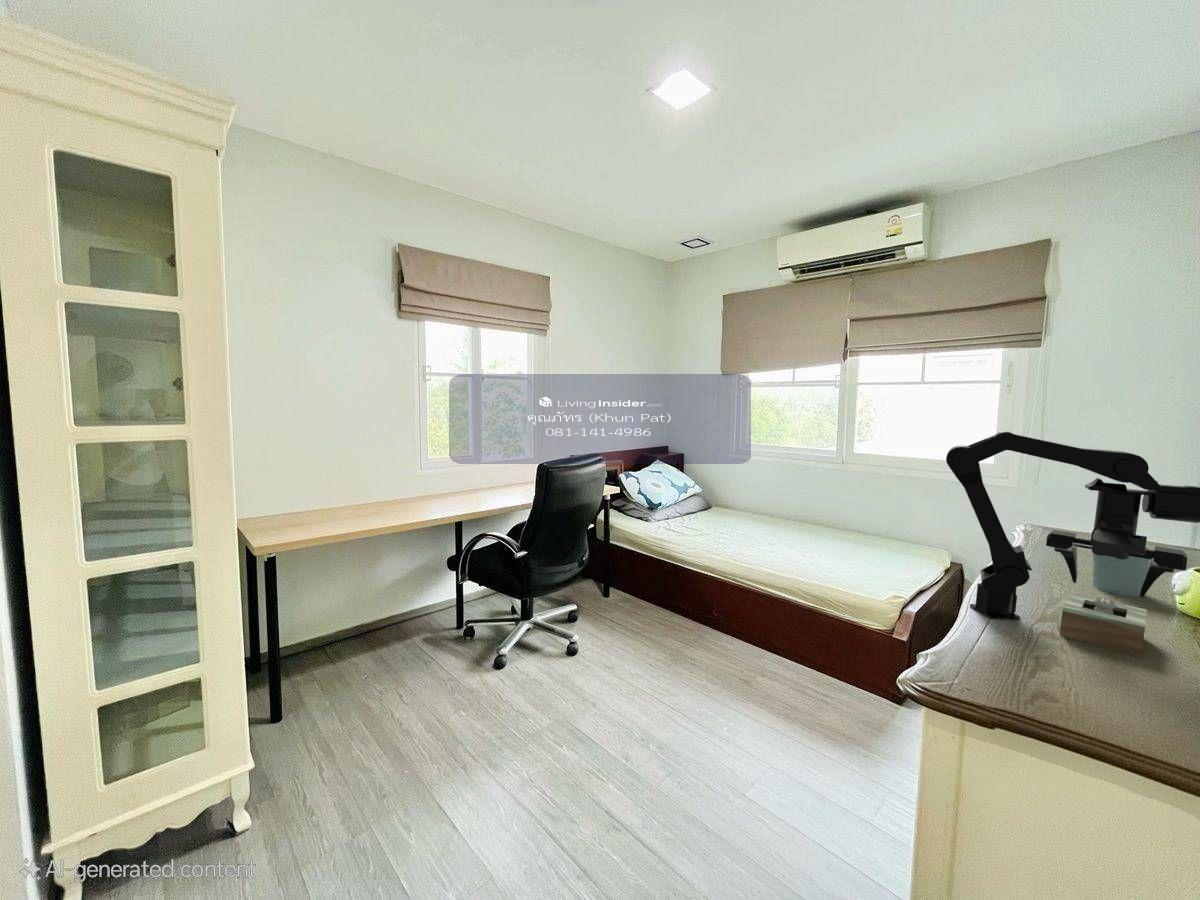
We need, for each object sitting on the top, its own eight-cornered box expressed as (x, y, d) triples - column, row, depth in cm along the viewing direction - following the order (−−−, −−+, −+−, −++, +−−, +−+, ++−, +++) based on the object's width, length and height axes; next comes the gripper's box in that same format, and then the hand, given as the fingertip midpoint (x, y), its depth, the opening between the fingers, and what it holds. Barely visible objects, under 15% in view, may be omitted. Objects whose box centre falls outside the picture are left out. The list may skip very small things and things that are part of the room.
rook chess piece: (1123, 643, 93) (1128, 604, 92) (1095, 640, 94) (1100, 602, 93) (1105, 632, 97) (1109, 595, 96) (1079, 629, 98) (1083, 593, 97)
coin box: (1140, 657, 87) (1145, 627, 87) (1059, 634, 96) (1062, 606, 95) (1142, 637, 95) (1146, 609, 94) (1067, 618, 103) (1070, 592, 103)
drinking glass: (1154, 594, 118) (1160, 548, 116) (1133, 600, 114) (1140, 553, 113) (1099, 580, 127) (1105, 537, 126) (1079, 585, 123) (1084, 541, 122)
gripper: (1046, 511, 95) (1037, 584, 97) (1193, 531, 81) (1180, 617, 82) (1054, 504, 102) (1046, 572, 104) (1191, 521, 88) (1179, 601, 89)
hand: (1106, 589), depth 94 cm, fingers open, 9 cm apart
